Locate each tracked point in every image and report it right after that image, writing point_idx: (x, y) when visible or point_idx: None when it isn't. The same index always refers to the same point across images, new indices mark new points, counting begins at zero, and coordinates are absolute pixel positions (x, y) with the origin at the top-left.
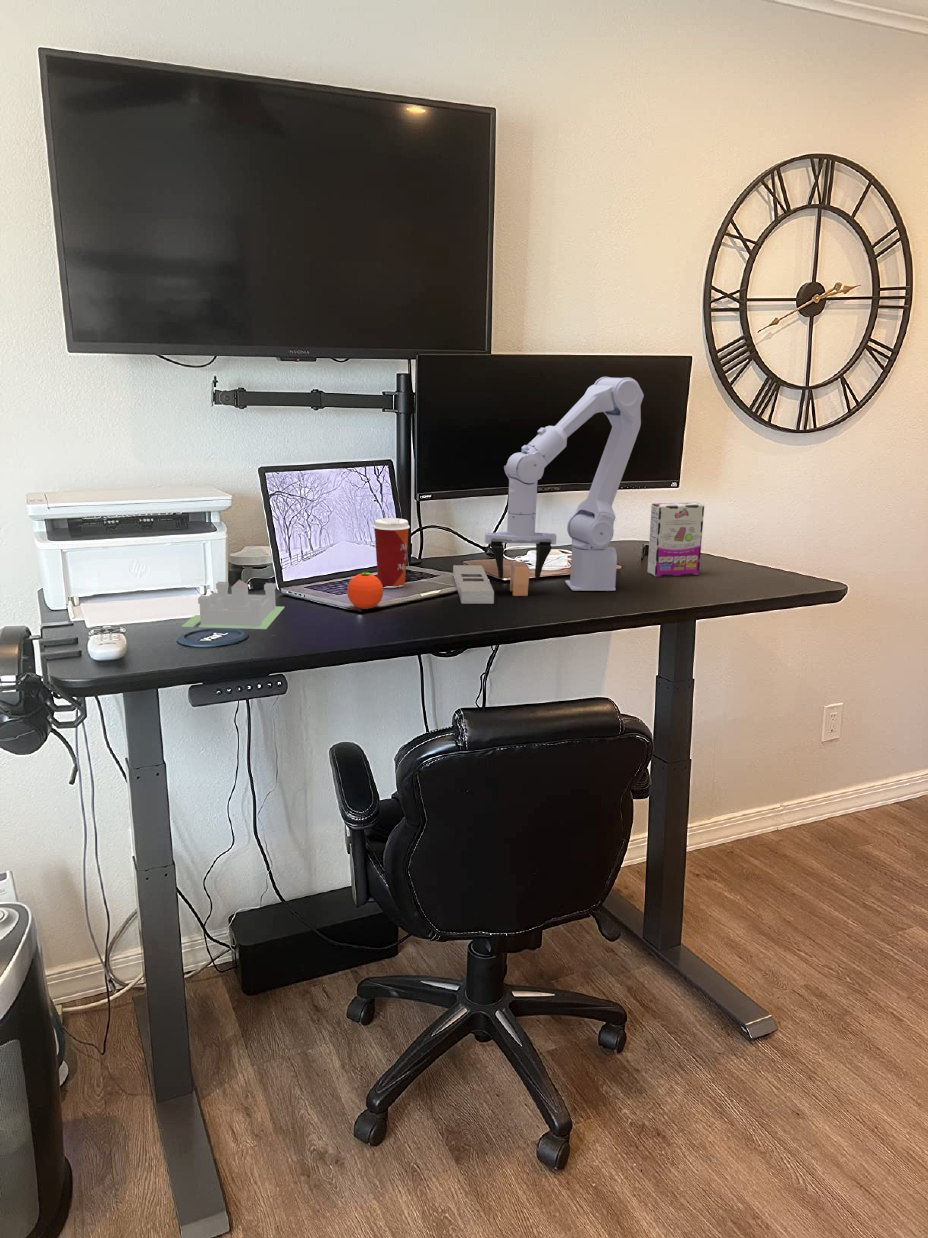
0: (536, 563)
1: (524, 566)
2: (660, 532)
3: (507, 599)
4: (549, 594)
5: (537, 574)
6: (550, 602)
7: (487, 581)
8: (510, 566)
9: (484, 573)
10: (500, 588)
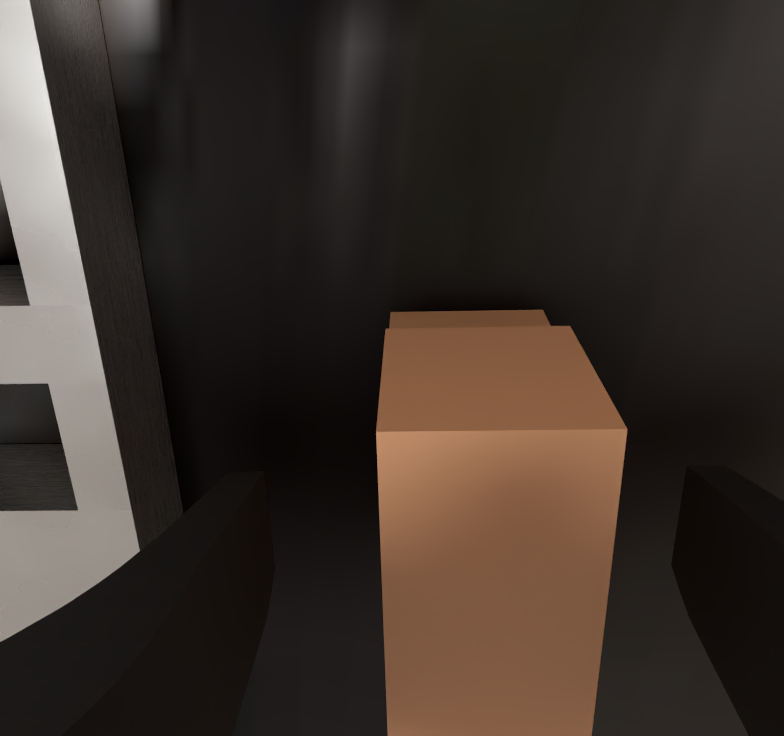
0: (774, 594)
1: (539, 724)
2: None
3: (334, 626)
4: (754, 477)
5: (697, 616)
6: (671, 698)
7: (112, 517)
8: (379, 399)
9: (31, 94)
10: (291, 253)
